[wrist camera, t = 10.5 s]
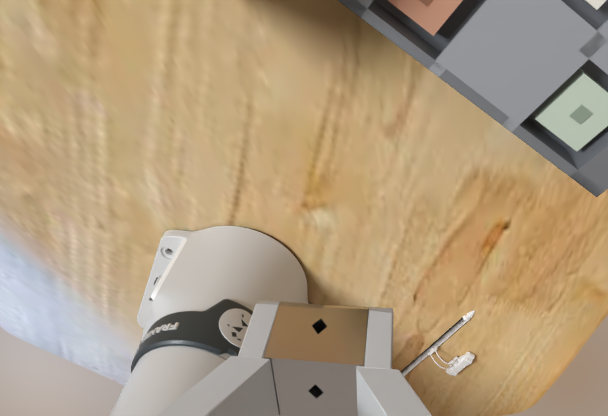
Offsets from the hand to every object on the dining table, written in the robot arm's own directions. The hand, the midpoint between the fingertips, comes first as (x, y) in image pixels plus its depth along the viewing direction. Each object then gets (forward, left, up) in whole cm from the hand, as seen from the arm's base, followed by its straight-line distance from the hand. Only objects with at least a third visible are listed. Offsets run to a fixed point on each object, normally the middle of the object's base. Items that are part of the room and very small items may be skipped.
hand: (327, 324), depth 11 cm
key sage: (+4, -15, -28) cm, 32 cm away
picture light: (-24, -28, -32) cm, 49 cm away
